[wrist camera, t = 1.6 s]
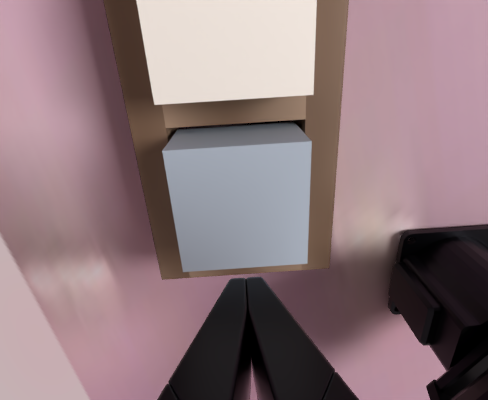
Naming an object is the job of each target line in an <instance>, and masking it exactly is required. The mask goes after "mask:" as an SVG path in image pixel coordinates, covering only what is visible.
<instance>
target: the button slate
mask: <svg viewBox="0 0 488 400" xmlns="http://www.w3.org/2000/svg"><path fill="white" fill-rule="evenodd" d="M311 149H312V141H311V140H310V139H309V138H308V137H307V136H306V134H305V133H304V132H303V131H302V130H301V129H300V128H299V127H298V126H297V125H296V123H295V122H289V123H273V124H258V125H242V126H227V127H211V128H195V129H180V130H177V131H176V132H175V134H174V135H173V137H172V138H171V139H170V141H169V142H168V144H167V145H166V146H165V148H164V149H163V150H162V153H163V159H164V164H165V170H166V176H167V182H168V188H169V194H170V199H171V205H172V211H173V217H174V223H175V228H176V234H177V240H178V246H179V252H180V257H181V263H182V269H183V272H192V271H207V270H221V269H236V268H251V267H266V266H280V265H295V264H307V260H308V233H309V205H310V177H311Z"/></svg>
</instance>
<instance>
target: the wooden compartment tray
mask: <svg viewBox="0 0 488 400" xmlns="http://www.w3.org/2000/svg"><path fill="white" fill-rule="evenodd" d="M103 1H104V6H105V10H106V15H107V20H108V25H109V30H110V34H111V39H112V44H113V49H114V53H115V58H116V63H117V68H118V72H119V77H120V82H121V87H122V91H123V96H124V101H125V106H126V111H127V115H128V120H129V125H130V130H131V134H132V139H133V144H134V149H135V153H136V158H137V163H138V168H139V172H140V177H141V182H142V187H143V192H144V196H145V201H146V206H147V211H148V215H149V220H150V225H151V230H152V234H153V239H154V244H155V249H156V254H157V258H158V263H159V268H160V273H161V277H162V280H163V279H178V278H193V277H207V276H222V275H237V274H252V273H266V272H281V271H296V270H310V269H325V268H329V266H330V252H331V238H332V224H333V211H334V197H335V183H336V169H337V156H338V142H339V128H340V114H341V101H342V87H343V73H344V59H345V46H346V32H347V18H348V4H349V0H317V10H316V38H315V66H314V93H313V95H304V96H288V97H272V98H256V99H241V100H225V101H209V102H193V103H178V104H162V105H154V100H153V95H152V89H151V83H150V77H149V71H148V66H147V60H146V54H145V48H144V42H143V36H142V31H141V25H140V19H139V13H138V7H137V2H136V0H103ZM286 120H293V122H295V123H296V125H297V126H298V127H299V128H300V129H301V130H302V131H303V132H304V133H305V134H306V136H307V137H308V138H309V139H310V140H311V141H312V149H311V177H310V205H309V233H308V260H307V264H295V265H280V266H266V267H251V268H236V269H221V270H207V271H192V272H183V269H182V263H181V257H180V252H179V246H178V240H177V234H176V228H175V223H174V217H173V211H172V205H171V199H170V194H169V188H168V182H167V176H166V170H165V164H164V159H163V153H162V150H163V149H164V148H165V146H166V145H167V144H168V142H169V141H170V139H171V138H172V137H173V135H174V134H175V132H176V131H177V130H179V127H192V126H208V125H224V124H239V123H255V122H270V121H286Z"/></svg>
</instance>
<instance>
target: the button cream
mask: <svg viewBox="0 0 488 400" xmlns="http://www.w3.org/2000/svg"><path fill="white" fill-rule="evenodd" d="M136 2H137V7H138V13H139V19H140V25H141V31H142V36H143V42H144V48H145V54H146V60H147V66H148V71H149V77H150V83H151V89H152V95H153V100H154V105H162V104H178V103H193V102H209V101H225V100H241V99H256V98H272V97H288V96H304V95H313V93H314V66H315V38H316V10H317V0H136Z"/></svg>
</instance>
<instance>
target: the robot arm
mask: <svg viewBox="0 0 488 400" xmlns="http://www.w3.org/2000/svg"><path fill="white" fill-rule="evenodd" d="M411 237H412V239H411V240H409V241H408V239H409V238H411ZM389 296H390V297H389V303H388V308H389V309H390V311H391V312H392V313H393V314H401V315H402V316H403V318H404V319H405V321H406V322H407V324H408V325H409V327H410V328H411V330H412V332H413V333H414V335H415V336H416V338H417V339H418V341H419V342H420V343H421V344H422V345H429V346H430V347H431V348H432V350H433V351H434V353H435V354H436V356H437V357H438V359H439V360H440V362H441V363H442V365H443V366H444V368H445V369H446V372H445V373H444V374H443V375H442V376H441V377H439V378H438V379H437V380H433V381H432V382H430V383H429V384H428V385H427V386H426V388H427V391H428V394H429V397H430V400H488V225H484V226H469V227H454V228H440V229H425V230H410V231H406V232H404V233H403V234H402V235H401V237H400V242H399V248H398V253H397V259H396V263H395V264H394V266H393V271H392V276H391V282H390V288H389ZM251 360H252V369H253V375H254V381H255V386H256V392H257V397H258V400H359V399H358V398H357V397H356V395H355V394H354V393H353V392H352V391H351V389H350V388H349V387H348V386H347V384H346V383H345V382H344V381H343V379H342V378H341V377H340V375H339V374H338V373H337V372H335V370H334V368H333V367H332V366H331V364H330V363H329V362H328V360H327V359H326V358H325V357H324V355H323V354H322V353H321V352H320V350H319V349H318V348H317V347H316V345H315V344H314V343H313V341H312V340H311V339H310V338H309V336H308V335H307V334H306V333H305V331H304V330H303V329H302V327H301V326H300V325H299V324H298V322H297V321H296V320H295V319H294V317H293V316H292V315H291V314H290V312H289V311H288V310H287V308H286V307H285V306H284V305H283V303H282V302H281V301H280V300H279V298H278V297H277V296H276V294H275V293H274V292H273V291H272V289H271V288H270V287H269V286H268V284H267V283H266V282H265V281H264V279H263V278H262V277H249V278H247V279H245V278H233V279H230V280H229V282H228V284H227V285H226V287H225V289H224V290H223V292H222V294H221V295H220V297H219V299H218V300H217V302H216V304H215V305H214V307H213V308H212V310H211V312H210V313H209V315H208V317H207V318H206V320H205V322H204V323H203V325H202V327H201V328H200V330H199V332H198V333H197V335H196V337H195V338H194V340H193V342H192V343H191V345H190V347H189V348H188V350H187V352H186V353H185V355H184V357H183V358H182V360H181V362H180V363H179V365H178V366H177V368H176V370H175V371H174V373H173V375H172V376H171V378H170V380H169V384H167V385H166V386H165V388H164V389H163V391H162V393H161V394H160V396H159V398H158V399H157V400H250V389H251Z"/></svg>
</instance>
